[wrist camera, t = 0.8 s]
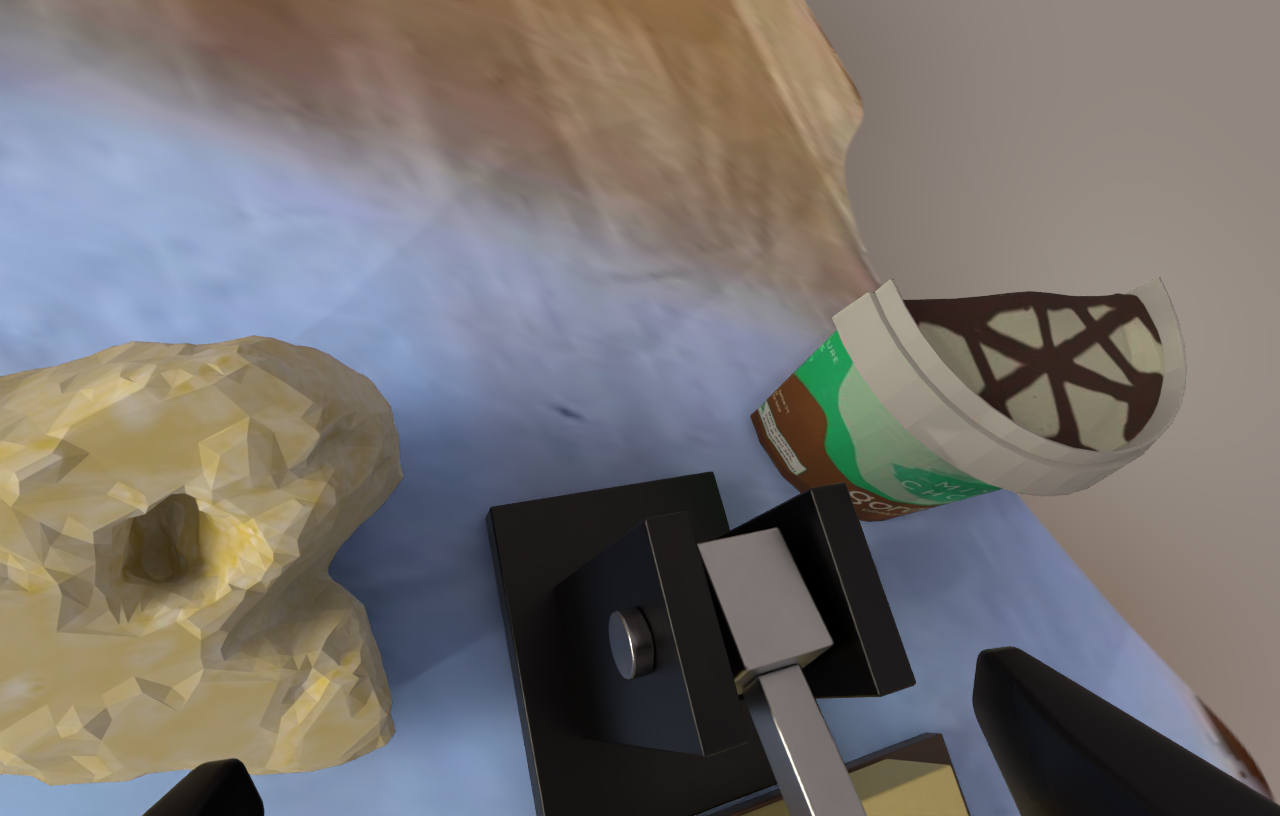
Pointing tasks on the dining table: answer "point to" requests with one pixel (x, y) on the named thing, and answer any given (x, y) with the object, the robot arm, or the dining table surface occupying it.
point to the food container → (977, 396)
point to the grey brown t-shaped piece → (779, 666)
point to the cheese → (188, 561)
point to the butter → (898, 791)
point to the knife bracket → (665, 641)
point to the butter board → (914, 749)
